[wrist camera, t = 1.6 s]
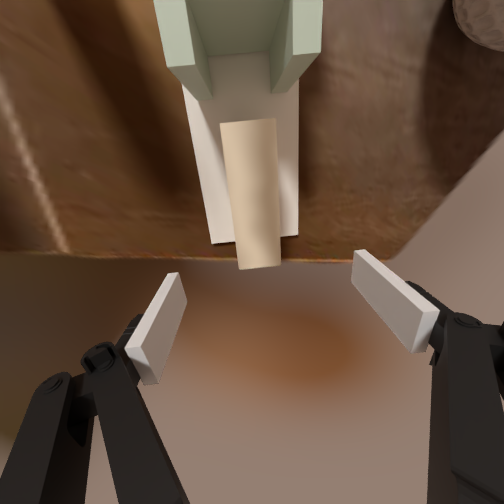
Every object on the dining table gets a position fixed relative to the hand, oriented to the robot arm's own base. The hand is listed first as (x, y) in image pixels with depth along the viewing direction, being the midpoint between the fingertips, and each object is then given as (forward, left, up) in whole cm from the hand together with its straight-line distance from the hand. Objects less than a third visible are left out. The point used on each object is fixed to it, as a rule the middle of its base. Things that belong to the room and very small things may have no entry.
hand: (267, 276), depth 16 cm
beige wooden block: (0, +4, -18) cm, 19 cm away
